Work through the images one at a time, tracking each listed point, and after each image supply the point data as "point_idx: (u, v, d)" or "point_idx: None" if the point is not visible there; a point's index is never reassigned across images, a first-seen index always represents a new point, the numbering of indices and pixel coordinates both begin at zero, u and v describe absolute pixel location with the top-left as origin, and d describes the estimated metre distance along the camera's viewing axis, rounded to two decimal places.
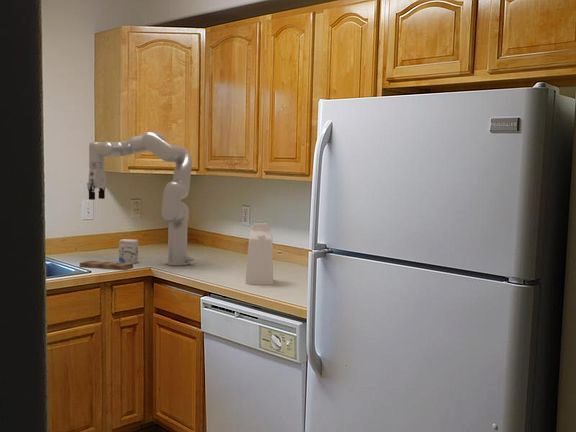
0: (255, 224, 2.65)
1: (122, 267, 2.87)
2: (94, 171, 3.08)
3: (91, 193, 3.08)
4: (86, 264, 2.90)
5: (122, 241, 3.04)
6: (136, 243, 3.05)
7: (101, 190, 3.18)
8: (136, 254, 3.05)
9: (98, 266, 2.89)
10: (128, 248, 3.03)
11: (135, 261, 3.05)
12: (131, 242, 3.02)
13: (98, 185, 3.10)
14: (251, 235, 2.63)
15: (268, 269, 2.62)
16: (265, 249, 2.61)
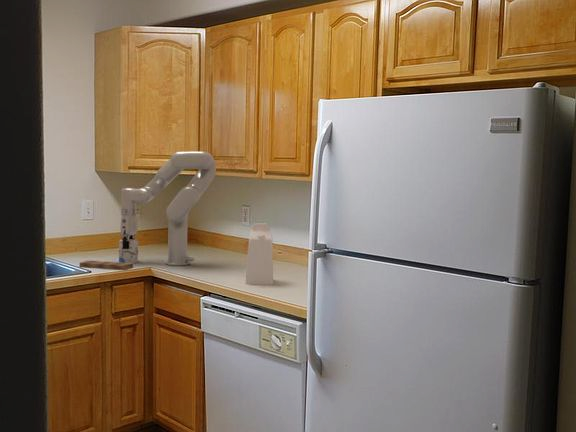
0: (255, 224, 2.65)
1: (122, 267, 2.87)
2: (126, 218, 3.00)
3: (125, 242, 3.02)
4: (86, 264, 2.90)
5: (122, 241, 3.04)
6: (136, 243, 3.05)
7: None
8: (136, 254, 3.05)
9: (98, 266, 2.89)
10: None
11: (135, 261, 3.05)
12: (131, 242, 3.02)
13: (130, 232, 3.01)
14: (251, 235, 2.63)
15: (268, 269, 2.62)
16: (265, 249, 2.61)
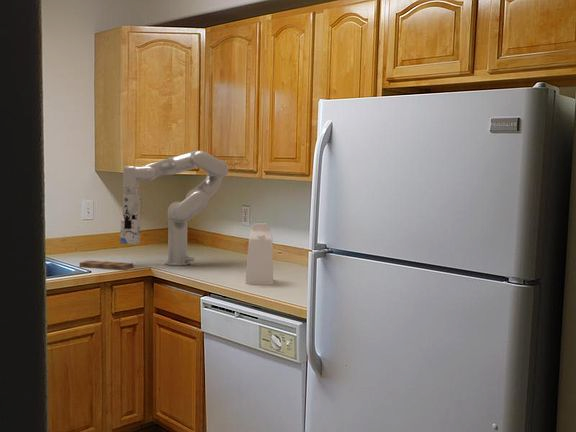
0: (255, 224, 2.65)
1: (122, 267, 2.87)
2: (129, 197, 2.90)
3: (127, 222, 2.92)
4: (86, 264, 2.90)
5: (124, 221, 2.95)
6: (138, 223, 2.95)
7: (133, 218, 2.99)
8: (138, 234, 2.96)
9: (98, 266, 2.89)
10: None
11: (137, 241, 2.96)
12: (133, 222, 2.93)
13: (132, 212, 2.92)
14: (251, 235, 2.63)
15: (268, 269, 2.62)
16: (265, 249, 2.61)
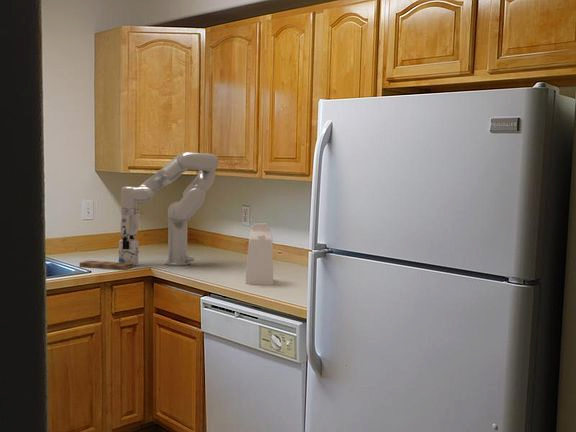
0: (255, 224, 2.65)
1: (122, 267, 2.87)
2: (127, 218, 2.92)
3: (125, 242, 2.94)
4: (86, 264, 2.90)
5: (122, 241, 2.96)
6: (136, 243, 2.97)
7: None
8: (136, 254, 2.97)
9: (98, 266, 2.89)
10: (128, 249, 2.95)
11: (135, 262, 2.97)
12: (131, 242, 2.94)
13: (131, 232, 2.93)
14: (251, 235, 2.63)
15: (268, 269, 2.62)
16: (265, 249, 2.61)
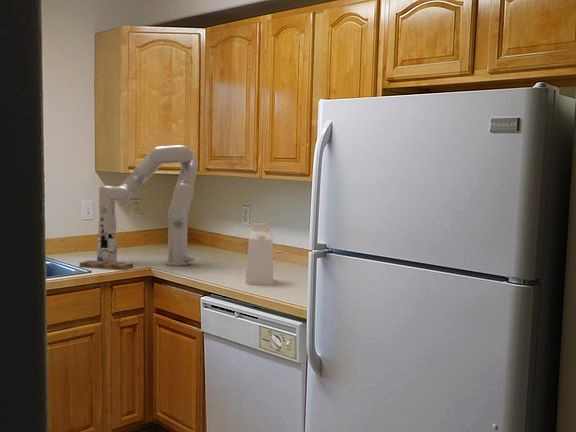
0: (255, 224, 2.65)
1: (122, 267, 2.87)
2: (104, 216, 2.94)
3: (103, 241, 2.96)
4: (86, 264, 2.90)
5: (100, 240, 2.98)
6: (115, 242, 2.99)
7: (109, 237, 3.02)
8: (115, 253, 3.00)
9: (98, 266, 2.89)
10: None
11: (114, 260, 2.99)
12: (109, 241, 2.97)
13: (109, 231, 2.96)
14: (251, 235, 2.63)
15: (268, 269, 2.62)
16: (265, 249, 2.61)
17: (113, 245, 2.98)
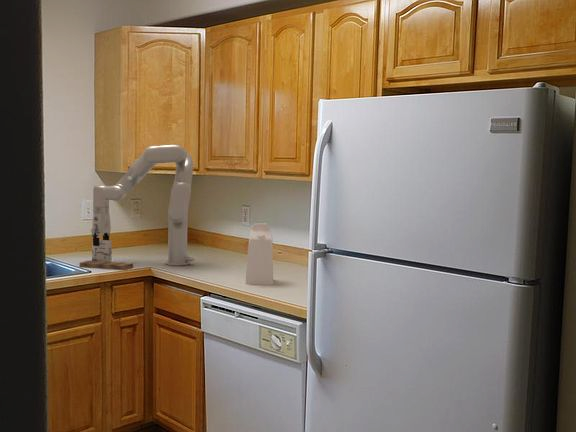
0: (255, 224, 2.65)
1: (122, 267, 2.87)
2: (98, 216, 2.95)
3: (95, 239, 2.95)
4: (86, 264, 2.90)
5: None
6: (109, 244, 3.00)
7: (105, 235, 3.05)
8: (109, 255, 3.01)
9: (98, 266, 2.89)
10: (101, 249, 2.98)
11: None
12: (104, 243, 2.98)
13: (102, 230, 2.96)
14: (251, 235, 2.63)
15: (268, 269, 2.62)
16: (265, 249, 2.61)
17: (108, 247, 2.99)
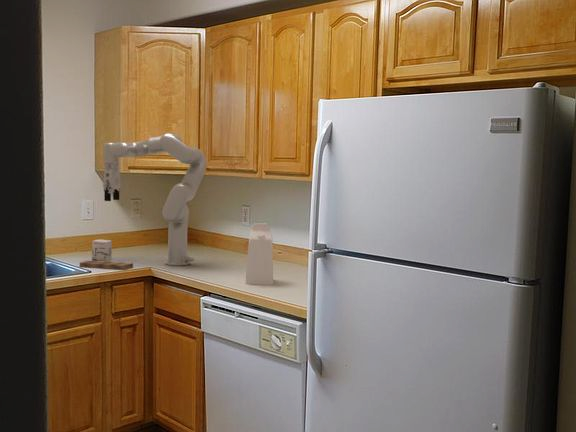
0: (255, 224, 2.65)
1: (122, 267, 2.87)
2: (110, 172, 3.05)
3: (107, 194, 3.05)
4: (86, 264, 2.90)
5: (95, 242, 2.99)
6: (109, 244, 3.00)
7: (116, 191, 3.15)
8: (109, 255, 3.01)
9: (98, 266, 2.89)
10: (101, 249, 2.98)
11: None
12: (104, 243, 2.98)
13: (114, 186, 3.06)
14: (251, 235, 2.63)
15: (268, 269, 2.62)
16: (265, 249, 2.61)
17: (108, 247, 2.99)
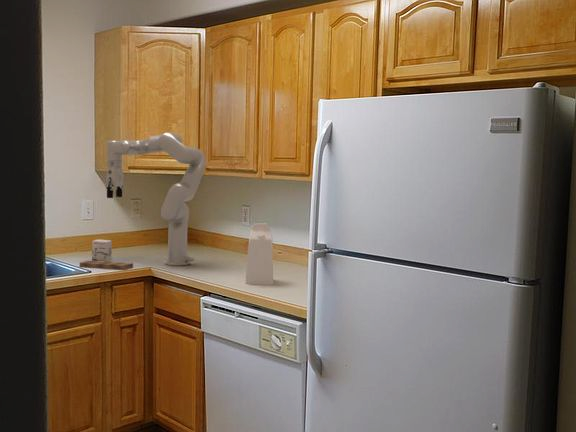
0: (255, 224, 2.65)
1: (122, 267, 2.87)
2: (112, 169, 3.08)
3: (109, 191, 3.08)
4: (86, 264, 2.90)
5: (95, 242, 2.99)
6: (109, 244, 3.00)
7: (119, 188, 3.18)
8: (109, 255, 3.01)
9: (98, 266, 2.89)
10: (101, 249, 2.98)
11: None
12: (104, 243, 2.98)
13: (116, 183, 3.10)
14: (251, 235, 2.63)
15: (268, 269, 2.62)
16: (265, 249, 2.61)
17: (108, 247, 2.99)
